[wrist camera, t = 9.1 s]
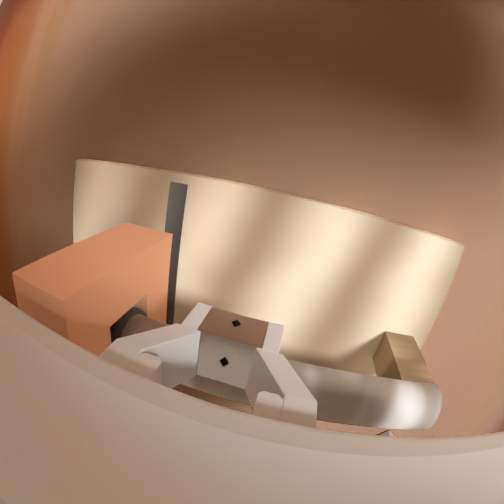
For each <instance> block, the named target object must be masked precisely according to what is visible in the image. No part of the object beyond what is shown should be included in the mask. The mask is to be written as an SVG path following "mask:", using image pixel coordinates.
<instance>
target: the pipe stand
mask: <svg viewBox="0 0 504 504" xmlns="http://www.w3.org/2000/svg"><path fill="white" fill-rule="evenodd" d="M126 222H127V223H131V224H135V225H139V226H143V227H147V228H151V229H155V230H159V231H163V232H167V233H171V234H173V236H172V246H171V257H170V268H169V281H168V296H167V314H166V323H163V322H160V321H157V320H155V319H152V318H149V317H146V316H145V313H144V312H143V311H142V310H140V309H137V308H134V307H132V308H131V309H130V310H128V311H127V312H126V313H125V314H124V315H123V316H122V317H121V318H119V319H118V320H117V321H116V322H115V323H114V324H113V325H112V326H110V334H111V343H113V342H114V341H115V340H116V339H117V338H122V337H126V336H130V335H134V334H138V333H142V332H146V331H150V330H153V329H157V328H161V327H165V326H169V325H172V324H176V323H177V324H180V325H181V323H182V322H183V321H184V320H185V318H186V317H187V316H188V314H189V313H190V312H191V311H192V309H193V308H194V307H195V306H196V304H197V303H204V304H207V305H211V306H213V307H217V308H220V309H223V310H227V311H230V312H233V313H237V314H240V315H242V316H246V317H250V318H254V319H258V320H263V321H267V322H271V323H276V324H281V325H284V331H283V336H282V341H281V346H280V351H279V353H280V354H283V355H284V356H285V358H286V359H287V360H288V362H289V363H290V365H291V366H292V367H293V369H294V370H295V372H296V373H297V374H298V376H299V377H300V379H301V380H302V381H303V383H304V384H305V386H306V387H307V388H308V390H309V391H310V392H311V394H312V395H313V397H314V398H315V399H316V401H317V420H320V421H326V422H333V423H340V424H348V425H356V426H365V427H376V428H389V429H409V430H426V429H428V428H430V427H431V426H432V425H433V424H434V423H435V421H436V420H437V418H438V415H439V413H440V410H441V405H442V394H441V390H440V388H439V386H438V385H437V384H435V383H434V381H433V379H432V376H431V374H430V372H429V369H428V367H427V365H426V363H425V360H424V358H423V356H422V354H421V352H420V349H421V348H422V346H423V344H424V342H425V340H426V338H427V336H428V334H429V332H430V330H431V328H432V326H433V324H434V322H435V320H436V318H437V316H438V314H439V312H440V309H441V307H442V305H443V303H444V300H445V298H446V296H447V293H448V291H449V289H450V286H451V284H452V281H453V279H454V276H455V274H456V271H457V268H458V266H459V263H460V260H461V257H462V254H463V251H464V248H465V246H463V245H461V244H460V243H458V242H456V241H453V240H451V239H448V238H445V237H442V236H439V235H436V234H433V233H430V232H427V231H424V230H421V229H418V228H414V227H411V226H408V225H405V224H402V223H398V222H395V221H392V220H388V219H385V218H382V217H378V216H375V215H371V214H368V213H364V212H361V211H357V210H353V209H350V208H346V207H342V206H338V205H335V204H331V203H327V202H323V201H319V200H315V199H311V198H307V197H303V196H298V195H294V194H290V193H286V192H281V191H277V190H272V189H268V188H263V187H259V186H254V185H249V184H244V183H239V182H234V181H229V180H224V179H219V178H214V177H208V176H203V175H197V174H191V173H186V172H180V171H173V170H167V169H161V168H154V167H147V166H140V165H133V164H126V163H118V162H110V161H101V160H92V159H78V160H76V167H75V180H74V199H73V244H74V243H77V242H79V241H81V240H84V239H86V238H89V237H91V236H93V235H96V234H98V233H101V232H103V231H105V230H108V229H110V228H113V227H115V226H118V225H120V224H123V223H126ZM268 325H269V324H268ZM181 384H182V385H185V386H187V387H190V388H193V389H196V390H199V391H202V392H205V393H208V394H212V395H215V396H218V397H221V398H225V399H228V400H231V401H235V402H239V403H242V404H246V405H250V402H249V400H248V397H247V395H246V392H245V389H242V388H239V387H236V386H233V385H230V384H226V383H223V382H220V381H217V380H213V379H210V378H206V377H203V376H200V375H197V374H196V376H194V377H192V378H190V379H188V380H187V381H185V382H183V383H181ZM250 406H251V405H250Z"/></svg>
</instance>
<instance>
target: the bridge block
mask: <svg viewBox="0 0 504 504" xmlns="http://www.w3.org/2000/svg"><path fill="white" fill-rule="evenodd" d="M172 236H173V234H171V233H167V232H163V231H159V230H155V229H151V228H147V227H143V226H139V225H135V224H131V223H127V222H126V223H123V224H120V225H118V226H115V227H113V228H110V229H108V230H105V231H103V232H101V233H98V234H96V235H93V236H91V237H89V238H86V239H84V240H81V241H79V242H77V243H74V244H72V245H70V246H68V247H65V248H63V249H61V250H59V251H56V252H54V253H52V254H50V255H48V256H45V257H43V258H41V259H39V260H37V261H35V262H33V263H31V264H29V265H26V266H24V267H22V268H20V269H18V270H16V271H14V272H12V277H13V283H14V289H15V294H16V299H17V304H18V308H19V309H20V310H21V311H23V312H24V313H26V314H27V315H29V316H30V317H32V318H33V319H35V320H36V321H38V322H39V323H41V324H42V325H44V326H46V327H47V328H49V329H50V330H52V331H54V332H55V333H57V334H59V335H60V336H62V337H64V338H66V339H67V340H69V341H71V342H73V343H74V344H76V345H78V346H80V347H82V348H84V349H85V350H87V351H89V352H91V353H93V354H95V355H97V356H99V355H100V354H101V353H102V352H103V351H104V350H105V349H107V348H108V347H109V346H110V345H111V344H112V343H111V334H110V326H112V325H113V324H114V323H115V322H116V321H117V320H118V319H119V318H121V317H122V316H123V315H124V314H125V313H126V312H127V311H128V310H130V309H131V308H132V307H134V308H137V309H140V310H142V311H143V312H144V313H145V316H146V317H149V318H152V319H155V320H157V321H160V322H163V323H166V314H167V296H168V281H169V268H170V257H171V246H172Z"/></svg>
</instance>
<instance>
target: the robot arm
mask: <svg viewBox="0 0 504 504" xmlns="http://www.w3.org/2000/svg"><path fill="white" fill-rule="evenodd" d="M268 324H269V325H268ZM283 331H284V325H281V324H276V323H271V322H267V321H263V320H258V319H254V318H250V317H246V316H242V315H240V314H237V313H233V312H230V311H227V310H223V309H220V308H217V307H213V306H211V305H207V304H204V303H197V304H196V306H195V307H194V308H193V309H192V311H191V312H190V313H189V314H188V316H187V317H186V318H185V320H184V321H183V322H182V323H181V325H180V324H177V323H176V324H172V325H169V326H165V327H161V328H157V329H153V330H150V331H146V332H142V333H138V334H134V335H130V336H126V337H122V338H117V339H116V340H115V341H114V342H113V343H112V344H111V345H110V346H109V347H108V348H107V349H105V350H104V351H103V352H102V353H101V354H100V355H99V356H97V355H95V354H93V353H91V352H89V351H87V350H85V349H84V348H82V347H80V346H78V345H76V344H74V343H73V342H71V341H69V340H67V339H66V338H64V337H62V336H60V335H59V334H57V333H55V332H54V331H52V330H50V329H49V328H47V327H46V326H44V325H42V324H41V323H39V322H38V321H36V320H35V319H33V318H32V317H30V316H29V315H27V314H26V313H24V312H23V311H21V310H20V309H18V308H17V307H16V306H14V305H13V304H11V303H10V302H9V301H7V300H6V299H5V298H3V297H2V296H0V504H504V432H497V433H489V434H480V435H469V436H454V437H395V436H379V435H366V434H356V433H347V432H339V431H332V430H326V429H319V428H316V421H317V401H316V399H315V398H314V397H313V395H312V394H311V392H310V391H309V390H308V388H307V387H306V386H305V384H304V383H303V381H302V380H301V379H300V377H299V376H298V374H297V373H296V372H295V370H294V369H293V367H292V366H291V365H290V363H289V362H288V360H287V359H286V358H285V356H284V355H283V354H280V353H279V351H280V346H281V341H282V336H283ZM196 374H197V375H200V376H203V377H206V378H210V379H213V380H217V381H220V382H223V383H226V384H230V385H233V386H236V387H239V388H242V389H245V392H246V395H247V397H248V400H249V402H250V405H251V408H252V413H251V414H249V413H245V412H242V411H238V410H234V409H231V408H227V407H224V406H221V405H218V404H214V403H211V402H208V401H205V400H202V399H199V398H196V397H193V396H190V395H187V394H184V393H182V392H179V391H176V390H174V389H172V388H173V387H175V386H177V385H179V384H181V383H183V382H185V381H187V380H188V379H190V378H192V377H194V376H196Z"/></svg>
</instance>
